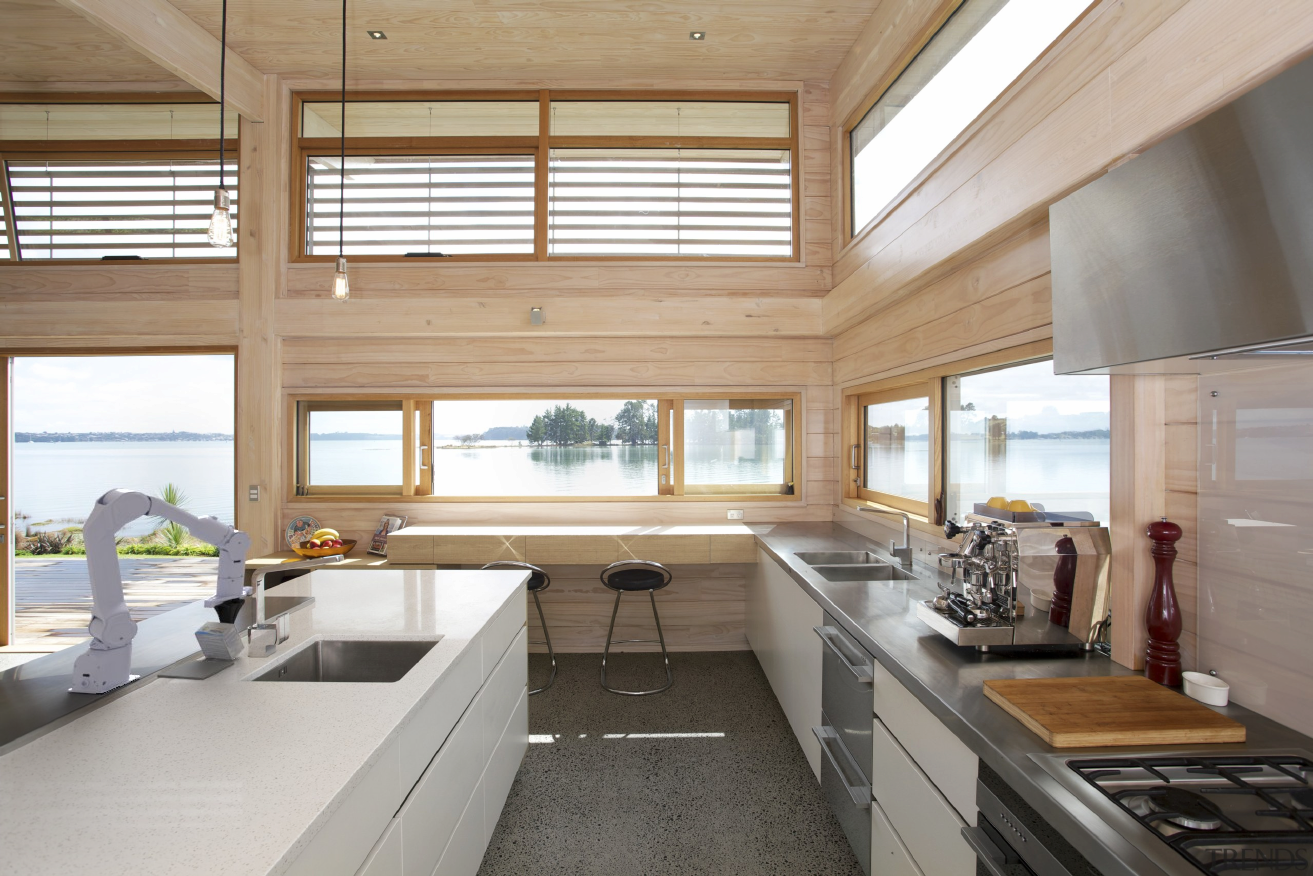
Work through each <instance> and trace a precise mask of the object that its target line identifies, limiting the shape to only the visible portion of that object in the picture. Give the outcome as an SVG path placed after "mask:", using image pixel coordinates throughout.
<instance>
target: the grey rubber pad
mask: <svg viewBox="0 0 1313 876" xmlns="http://www.w3.org/2000/svg"><path fill="white" fill-rule="evenodd" d="M233 665H235V662H233V661H231V662H230V661H229V662H228V661H217V660H213V661H212V660H202V659H201V660H200V659H190V660H188V661H185V662H183V663H181V664H179V665H177V666H174V667H172V668H170V669H168V670H165V671H162V672H161V673H158V674H157V675H156V676H157V677H159V678H160V677H161V678H176V679H187V680H189V679H191V680H206V679H207V678H209V677H211V676H213V675H215V674H217V673H220V672H222V671H223V670H226V669H227V668H229V667H231V666H233Z"/></svg>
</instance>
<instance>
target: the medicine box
mask: <svg viewBox="0 0 1313 876" xmlns="http://www.w3.org/2000/svg"><path fill="white" fill-rule="evenodd" d="M194 636H195V638H196V640H197V642H198V645H199V647H200V649H201V652H202V654H203V656H204V658H208V659H219V660H228V661H229V660H231V661H234V660H235V659H236V658H237V657H238V656H239V655H240V653H241V652H242V651H244V650H245V645H244V643H243V640H242V638H241V636H240V633H239V631H238V628H237V626H236V624H235V623H234V624H228V623H220V622H215V621H206V622H204V624H203V625H202V626H200V627H199V628H198V629H197V630H196V631H195V632H194Z"/></svg>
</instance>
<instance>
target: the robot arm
mask: <svg viewBox="0 0 1313 876" xmlns="http://www.w3.org/2000/svg"><path fill="white" fill-rule="evenodd" d="M142 516H146V517H152V516H153V517H155V516H159V517H161V518H163V519H165V520H168V521H171V522H172V523H175V524H177V525H181V526H183V527H185V528H187V529H188V531H189V535H190V536H191V537H193V538H195V539H198V540H200V541H202V542H204V543H207V544H209V545H211V546H213V547H216V548H217V549H218V550H219V557H218V564H217V565H218V568H217V578H216V579H217V580H216V592H215V594H213V595H212V596H210V597H208V598H206V599H204V603H203V608H206V609H212V608H213V610H215V613H216V614H217V616H218V620H219V623H228V624H235V623H236V619H237V616H238V615H239V613H240V611H241V609H242V607H243V606H244V604H245V602H246V599H245V598H244V597H247V596H250V595H252V594H253V588H254V587H253V586H244V584H245V572H246V561H247V560H246V558H247V557H246V556H247V552H248V550H250V548H251V546H252V543H253V542H252V540H251V537H250V536H249V534H248V533H247V532H244V531H241V530H237V529H235V527H236V526H235V525H233V524H226V523H225V522H223V521H222V522H221V521H220V520H218V519H219V517H217V516H215V515H213V514H211V515H210V516H209V515H206V514H205V515H200V516H197V515H194V514H192V513H191V512H188V511H187V510H184V509H182V508H180V507H178V506H176V505H174V504H172V503H170V502H168V501H166V500H164V499H162V498H159V497H156V496H152V495H149V494H148V495H147V494H145V493H143V492H141V491H137V490H130V489H128V488H126V487H125V488H124V487H116V488H115V487H114V488H112V489H110V490H108V491H106V492H105V493H103V494H102V495H101V496H100V497H99V498H97V499H96V500H95V503H94V507H93V509H92V510H91V513H90V514H89V516H88V517H87V519H86V521H85V523H84V524H83V526H82V537H83V544H84V550H85V556H86V557H85V558H86V563H87V570H88V575H89V581H90V588H91V595H92V602H93V606H92V608H91V610H90V613H91V617H90V621H89V622H88V625H87V631H88V634H89V635H90V636H91V637H92V640H91V642H90V643H89V648H88V649H87V650H86V651H85V652H84V653H82V654H80V655H79V656H77V658H76V659H75V660H74V663H73V669H72V671H73V672H72V682H71V683H72V684H71V687H70V688H68V689H67V692H69V693H81V694H85V693H86V694H96V693H103V692H106V691H108V690H111V689H113V688H115V689H117V688H116V687H118V686H120V687H122V686H124V684H125V685H127V684H130V683H131V681H132V682H134V681H136V680H138V679H140V678H141V675H136V674H131V667H132V653H133V640H134V638H135V637H136V636H137V634H138V624H137V622H136V621H134V619H133V618H132V617H131V612H130V610H129V608H128V606H127V604H126V602H125V597H124V590H123V584H122V577H121V569H120V565H119V557H118V551H117V543H116V536H115V535H116V534H117V533H118V532H119V531H120V530H121V529H123V527H124V526H125V525H127V524H129V523H131V522H133V521H135V520H137V519H139V518H141V517H142ZM243 598H244V599H243ZM139 677H140V678H139ZM135 679H136V680H135ZM133 680H134V681H133ZM118 688H119V687H118ZM113 690H114V689H113ZM111 691H112V690H111ZM108 692H109V691H108ZM106 693H107V692H106Z"/></svg>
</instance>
